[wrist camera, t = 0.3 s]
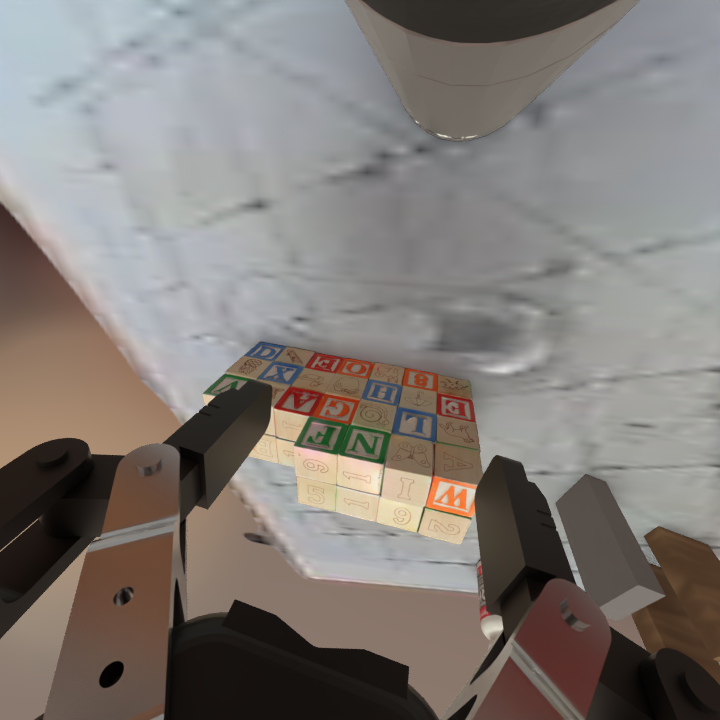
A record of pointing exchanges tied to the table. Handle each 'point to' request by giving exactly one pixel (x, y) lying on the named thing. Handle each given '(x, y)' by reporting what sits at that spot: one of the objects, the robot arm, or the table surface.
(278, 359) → the stack of blocks
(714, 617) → the walnut domino
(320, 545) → the table surface
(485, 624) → the pill bottle
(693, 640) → the walnut domino
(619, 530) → the charcoal domino
